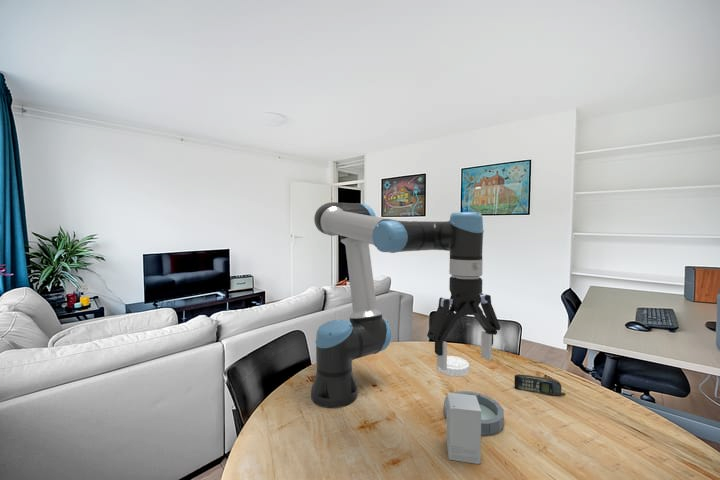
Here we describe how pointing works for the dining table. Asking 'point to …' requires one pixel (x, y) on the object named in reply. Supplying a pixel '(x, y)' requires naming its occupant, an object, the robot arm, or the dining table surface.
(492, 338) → the robot arm
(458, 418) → the supplement box
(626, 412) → the dining table surface
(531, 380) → the mobile phone
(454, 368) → the mooncake
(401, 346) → the dining table surface
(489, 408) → the round tray
